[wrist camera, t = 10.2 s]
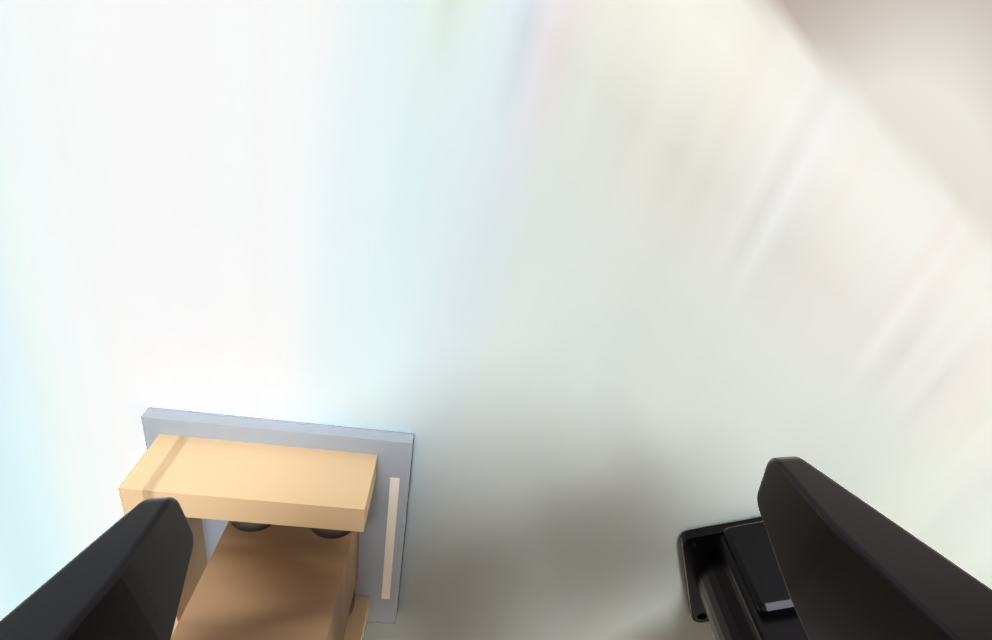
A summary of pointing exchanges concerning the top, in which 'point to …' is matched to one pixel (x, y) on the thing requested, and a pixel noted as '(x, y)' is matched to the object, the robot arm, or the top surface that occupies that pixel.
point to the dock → (282, 490)
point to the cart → (274, 585)
